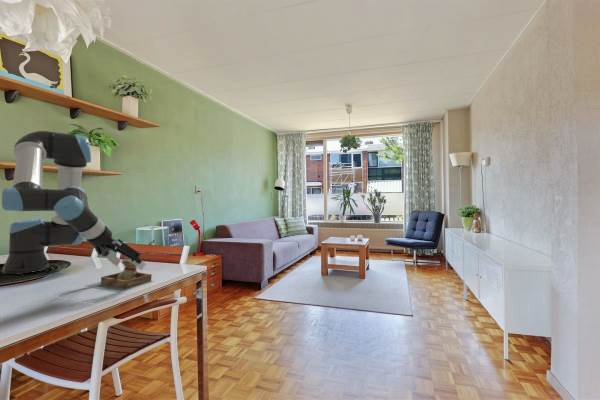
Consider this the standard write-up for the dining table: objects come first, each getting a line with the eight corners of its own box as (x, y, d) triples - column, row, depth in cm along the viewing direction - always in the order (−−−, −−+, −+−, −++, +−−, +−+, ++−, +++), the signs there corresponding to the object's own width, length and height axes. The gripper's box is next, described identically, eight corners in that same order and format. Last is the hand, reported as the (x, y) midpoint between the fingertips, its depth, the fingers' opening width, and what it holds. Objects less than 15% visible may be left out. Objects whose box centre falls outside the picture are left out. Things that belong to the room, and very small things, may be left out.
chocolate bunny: (139, 280, 118) (139, 256, 118) (116, 283, 113) (117, 258, 113) (135, 277, 122) (136, 254, 122) (113, 280, 117) (114, 256, 117)
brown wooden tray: (100, 284, 114) (101, 277, 114) (127, 277, 125) (127, 270, 125) (126, 288, 110) (126, 281, 110) (151, 281, 121) (151, 274, 121)
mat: (84, 287, 111) (84, 286, 111) (122, 276, 126) (122, 276, 126) (118, 293, 105) (118, 292, 105) (153, 282, 120) (153, 281, 120)
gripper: (63, 237, 106) (102, 269, 120) (113, 243, 98) (148, 276, 112) (79, 222, 111) (114, 254, 125) (128, 226, 103) (159, 260, 117)
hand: (130, 265), depth 119 cm, fingers open, 13 cm apart
